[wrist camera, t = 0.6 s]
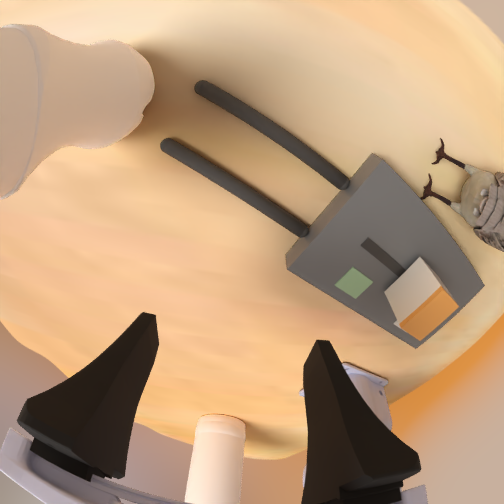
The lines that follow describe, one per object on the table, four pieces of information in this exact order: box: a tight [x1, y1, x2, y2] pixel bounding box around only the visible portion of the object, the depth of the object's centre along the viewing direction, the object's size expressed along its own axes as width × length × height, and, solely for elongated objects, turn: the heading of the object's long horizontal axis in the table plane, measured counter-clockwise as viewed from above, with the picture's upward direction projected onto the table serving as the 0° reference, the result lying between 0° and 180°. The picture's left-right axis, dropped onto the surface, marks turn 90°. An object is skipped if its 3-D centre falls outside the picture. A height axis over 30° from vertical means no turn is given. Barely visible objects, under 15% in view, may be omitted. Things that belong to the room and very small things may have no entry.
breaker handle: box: [384, 257, 459, 341], centre depth 18 cm, size 3×4×4 cm
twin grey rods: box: [160, 80, 349, 237], centre depth 17 cm, size 12×6×1 cm, turn 56°
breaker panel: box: [286, 153, 485, 349], centre depth 20 cm, size 18×10×2 cm, turn 56°
